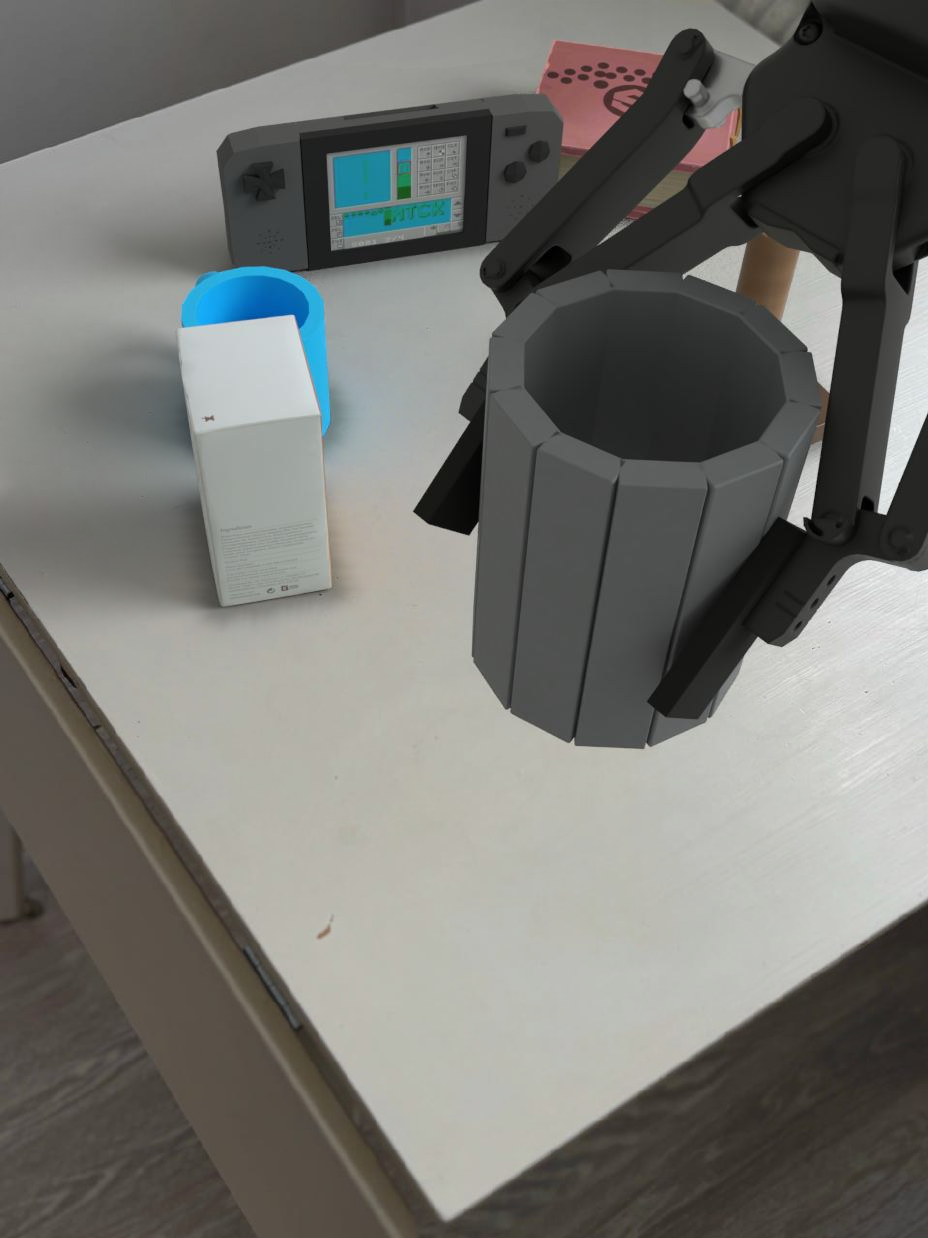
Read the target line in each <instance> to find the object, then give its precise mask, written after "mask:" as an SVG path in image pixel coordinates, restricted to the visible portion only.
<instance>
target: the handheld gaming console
mask: <svg viewBox="0 0 928 1238" xmlns="http://www.w3.org/2000/svg"><path fill="white" fill-rule="evenodd" d="M563 125H564V122H563V118H562V117H561V115H560V113H559V112H558V110H557V108H556V107H555V106H554V104H553V103H552V102H551V101H550V99H549V98H548V97H547V96H546V94H536V93H513V94H504V95H495V96H488V97H480V98H472V99H465V100H464V99H463V100H456V101H449V102H441V103H433V104H425V105H418V106H409V107H408V106H407V107H402V108H394V109H393V108H391V109H386V110H378V111H369V112H361V113H353V114H346V115H339V116H337V115H336V116H329V117H321V118H313V119H306V120H299V121H290V122H283V123H275V124H268V125H267V124H266V125H259V126H253V127H250V128H246V129H242V130H237V131H234V132H230V133H228V134H227V135H226V136H225V138H224V139H223V140H222V142H221V144H220V145H219V147H218V148H217V149H216V152H215V153H216V158H217V159H216V160H217V167H218V175H219V182H220V189H221V197H222V203H223V214H224V222H225V224H224V225H225V234H226V243H227V250H228V251H227V252H228V254H229V257H230V261H231V264H232V265H233V266H235V267H236V268H241V267H263V266H264V267H270V268H276V269H282V270H286V271H289V272H294V271H300V270H301V271H302V270H307V269H309V271H318V270H319V271H320V270H326V269H331V268H338V267H345V266H351V265H358V264H366V263H372V262H378V261H386V260H393V259H398V258H405V257H413V256H419V255H426V254H433V253H438V252H446V251H453V250H459V249H466V248H471V247H479V246H485V244H486V243H490V242H498V241H502V240H503V239H504V238H505V236H506V235H507V234H508V233H509V232H510V231H511V230H512V229H513V228H514V227H515V226H516V225H517V224H518V223H519V222H520V221H521V220H522V219H523V218H524V217H525V216H526V215H527V214H528V213H529V212H530V210H531V209H532V208H533V207H534V206H535V205H536V204H537V203H538V202H539V201H540V200H541V199H542V198H543V197H544V196H545V195H546V194H547V193H548V192H549V191H550V190H551V189H552V188H553V187H554V186H555V185H556V183H557V182H558V176H559V165H560V155H561V145H562V135H563Z"/></svg>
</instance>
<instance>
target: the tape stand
mask: <svg viewBox="0 0 928 1238" xmlns="http://www.w3.org/2000/svg"><path fill="white" fill-rule="evenodd" d="M800 253H801V251H799V250H795V249H791V248H787V247H785V246H784V245H782V244H780V243H778V242H777V241H775V240H773V239H771V238H770V237H768V236H767V235H766V234H765V233H762V234H761V235H759V236H757V237H756V238H754V239H753V240H751V241H749V242H747V243H745V247H744V253H743V257H742V262H741V266H740V270H739V274H738V278H737V284H736V288H735V292H736V293H739V294H741V295H744V296H746V297H749V298H752V299H754V300H756V306H757V305H760V304H761V305H764V306H765V307H766V308H767V309H768V310H769V311H770V312H771V313H772V314H773V315H774V316H775V317H776V318H777V319H778V320H779V321H781V322H782V320H783V317H784V313H785V309H786V305H787V302H788V298H789V294H790V291H791V286H792V283H793V279H794V276H795V272H796V268H797V264H798V261H799V256H800ZM818 386H819V391H820V396H821V401H822V409H821V412H820V417H819V420H818V423H817V426H816V429H815V432H814V436H813V439H812V442H811V445H813V444H815V443H818V442H822V440H823V433H824V426H825V420H826V413H827V406H828V399H829V393H830V391H828V390H827V389H826V388H825V387H824V386H823V385H822V384H821V383H820V382H819V381H818Z"/></svg>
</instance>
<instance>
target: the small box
mask: <svg viewBox="0 0 928 1238" xmlns="http://www.w3.org/2000/svg"><path fill="white" fill-rule="evenodd" d="M175 342H176V348H177V355H178V361H179V362H178V363H179V368H180V373H181V380H182V387H183V394H184V402H185V406H186V413H187V420H188V428H189V434H190V441H191V446H192V454H193V459H194V465H195V471H196V472H195V473H196V478H197V483H198V484H197V485H198V490H199V491H198V492H199V498H200V504H201V510H202V516H203V522H204V530H205V534H206V541H207V546H208V551H209V557H210V562H211V567H212V568H211V569H212V572H213V577H214V582H215V588H216V594H217V597H218V601H219V604H220V607H229V606H237V605H242V604H249V603H255V602H260V601H261V602H262V601H267V600H272V599H273V600H274V599H279V598H285V597H289V596H297V595H303V594H307V593H313V592H319V591H325V590H329V589H332V588H333V578H332V577H333V576H332V561H331V547H330V535H329V519H328V504H327V488H326V487H327V486H326V484H327V483H326V471H325V457H324V455H325V454H324V439H323V437H324V436H323V437H322V416H321V410H320V406H319V402H318V398H317V395H316V391H315V387H314V383H313V380H312V376H311V372H310V369H309V365H308V361H307V357H306V354H305V350H304V347H303V343H302V340H301V336H300V332H299V329H298V325H297V322H296V318H295V316H294V315H286V316H278V317H269V318H262V319H253V320H244V321H236V322H228V323H219V324H211V325H202V326H194V327H185V328H182V327H178V328H176V330H175Z"/></svg>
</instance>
